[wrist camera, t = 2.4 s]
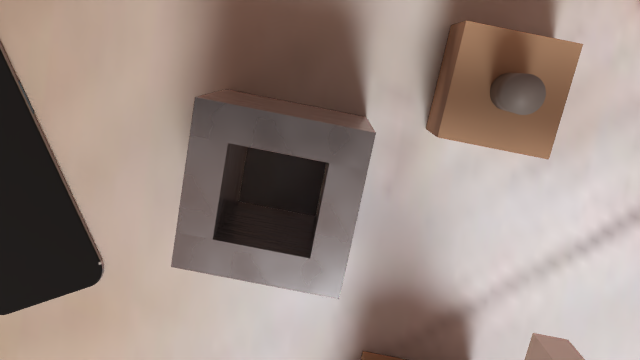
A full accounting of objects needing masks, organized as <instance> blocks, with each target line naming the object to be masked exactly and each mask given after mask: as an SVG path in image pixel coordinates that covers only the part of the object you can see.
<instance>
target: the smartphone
mask: <svg viewBox="0 0 640 360" xmlns="http://www.w3.org/2000/svg"><path fill="white" fill-rule="evenodd" d="M17 80H18V79H17V76H16V74H15V72H14V70H13V68H12V66H11V64H10V61H9V59H8V57H7V55H6V53H5V51H4V49H3V46H2V44H1V42H0V315H6V314H9V313H12V312H15V311H18V310H21V309H24V308H27V307H30V306H33V305H36V304H39V303H42V302H45V301H48V300H51V299H54V298H57V297H60V296H63V295H66V294H69V293H72V292H75V291H78V290H81V289H84V288H87V287H90V286H93V285H94V284H96V283H97V282H98V281H99V280H100V279H101V278H102V276H103V273H104V264H103V261H102V259H101V256H100V254H99V252H98V250H97V248H96V246H95V244H94V241H93V239H92V237H91V235H90V233H89V231H88V229H87V226H86V224H85V222H84V220H83V218H82V216H81V214H80V211H79V209H78V207H77V205H76V203H75V201H74V199H73V196H72V194H71V192H70V190H69V188H68V186H67V184H66V181H65V179H64V177H63V175H62V173H61V171H60V169H59V166H58V164H57V162H56V160H55V158H54V156H53V154H52V151H51V149H50V147H49V145H48V143H47V141H46V139H45V136H44V134H43V132H42V130H41V128H40V126H39V124H38V121H37V119H36V117H35V115H34V111H33V109H32V106H31V104H30V102H29V100H28V98H27V96H26V94H25V92H24V89H23V87H22V85H21V83H20V81H19V80H18V81H17Z"/></svg>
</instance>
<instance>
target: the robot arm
mask: <svg viewBox="0 0 640 360" xmlns="http://www.w3.org/2000/svg"><path fill="white" fill-rule="evenodd" d="M525 360H585V359H584V358H583V357H582V356H581V355H580V353H579V352H578V351H577V350H576V349H575V347H574V346H573V345H572V344H571V343H570V342H569V340H566V339H561V338H556V337H551V336H546V335H541V334H536V333H533V334H532V338H531V341H530V344H529V347H528V351H527V354H526V357H525Z"/></svg>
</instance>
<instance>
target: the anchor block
mask: <svg viewBox="0 0 640 360" xmlns="http://www.w3.org/2000/svg"><path fill="white" fill-rule="evenodd" d="M582 46H583V44H580V43H575V42H570V41H565V40H560V39H555V38H550V37H545V36H540V35H535V34H531V33H526V32H521V31H516V30H511V29H506V28H501V27H496V26H491V25H486V24H481V23H476V22H471V21H463V22H460V23H457V24H454V25H451V27H450V31H449V35H448V39H447V44H446V48H445V52H444V56H443V60H442V64H441V68H440V73H439V77H438V81H437V85H436V89H435V93H434V97H433V102H432V106H431V110H430V114H429V118H428V122H427V126H426V129H427V130H428V131H430V132H431V133H432V134H434V135H435V136H437V137H439V138H444V139H449V140H454V141H459V142H464V143H469V144H474V145H479V146H484V147H489V148H494V149H499V150H504V151H509V152H514V153H519V154H524V155H529V156H534V157H539V158H544V159H549V157H550V153H551V150H552V147H553V143H554V140H555V137H556V133H557V130H558V126H559V123H560V120H561V116H562V113H563V110H564V106H565V103H566V100H567V96H568V93H569V90H570V86H571V83H572V79H573V76H574V73H575V69H576V66H577V63H578V59H579V56H580V53H581V49H582Z"/></svg>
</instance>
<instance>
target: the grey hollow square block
mask: <svg viewBox="0 0 640 360" xmlns="http://www.w3.org/2000/svg"><path fill="white" fill-rule="evenodd" d="M375 134H376V132H375V131H374V129H373V127H372V126H371V124H370V122H369V121H368V119H367V117H364V116H359V115H354V114H349V113H344V112H339V111H334V110H329V109H324V108H319V107H314V106H309V105H304V104H299V103H294V102H289V101H284V100H279V99H274V98H269V97H264V96H259V95H254V94H249V93H244V92H239V91H234V90H229V89H225V90H221V91H217V92H213V93H209V94H205V95H201V96H197V97H195V101H194V108H193V115H192V123H191V130H190V137H189V144H188V151H187V158H186V165H185V172H184V179H183V186H182V193H181V200H180V207H179V214H178V222H177V229H176V236H175V243H174V250H173V257H172V264H171V267H175V268H180V269H185V270H190V271H196V272H201V273H206V274H211V275H216V276H221V277H227V278H232V279H237V280H242V281H247V282H253V283H258V284H263V285H268V286H273V287H278V288H284V289H289V290H294V291H299V292H304V293H310V294H315V295H320V296H325V297H330V298H335V299H339V297H340V293H341V288H342V284H343V279H344V275H345V270H346V266H347V261H348V257H349V252H350V247H351V243H352V238H353V234H354V229H355V225H356V220H357V216H358V211H359V207H360V202H361V198H362V193H363V189H364V184H365V179H366V175H367V170H368V166H369V161H370V157H371V152H372V148H373V143H374V139H375ZM248 147H251V148H256V149H261V150H266V151H271V152H276V153H281V154H286V155H291V156H296V157H301V158H306V159H311V160H316V161H321V162H326V166H325V171H324V176H323V181H322V186H321V190H320V195H319V200H318V205H317V210H316V215H315V216H312V215H307V214H302V213H296V212H291V211H286V210H281V209H276V208H271V207H266V206H261V205H256V204H250V203H245V202H240V201H239V198H240V192H241V186H242V180H243V174H244V168H245V162H246V156H247V150H248Z"/></svg>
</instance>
